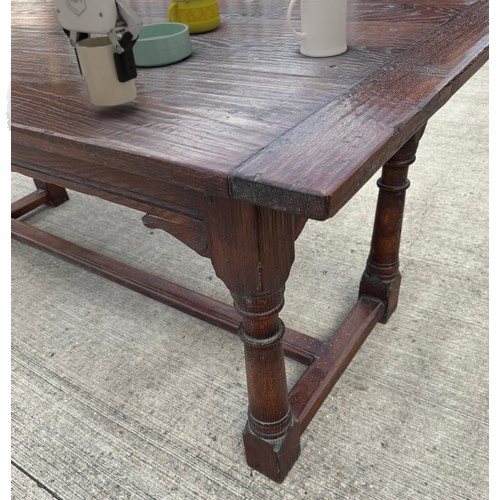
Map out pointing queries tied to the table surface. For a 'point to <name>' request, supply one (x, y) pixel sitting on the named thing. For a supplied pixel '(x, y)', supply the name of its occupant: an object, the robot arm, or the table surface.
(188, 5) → the mug
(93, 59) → the cup
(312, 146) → the table surface
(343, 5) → the mug
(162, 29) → the bowl
